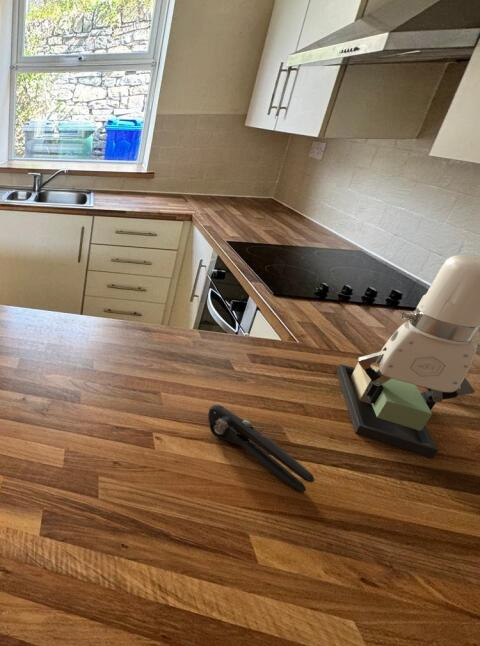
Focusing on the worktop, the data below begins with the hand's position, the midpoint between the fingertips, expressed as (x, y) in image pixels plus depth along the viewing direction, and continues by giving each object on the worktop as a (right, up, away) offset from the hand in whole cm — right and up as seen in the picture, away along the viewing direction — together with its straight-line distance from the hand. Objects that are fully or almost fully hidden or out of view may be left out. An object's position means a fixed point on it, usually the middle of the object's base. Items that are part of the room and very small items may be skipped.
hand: (393, 405), depth 77 cm
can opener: (-31, -7, -5) cm, 33 cm away
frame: (+3, -2, +6) cm, 7 cm away
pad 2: (0, -1, 0) cm, 1 cm away
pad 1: (+6, 0, +9) cm, 11 cm away
